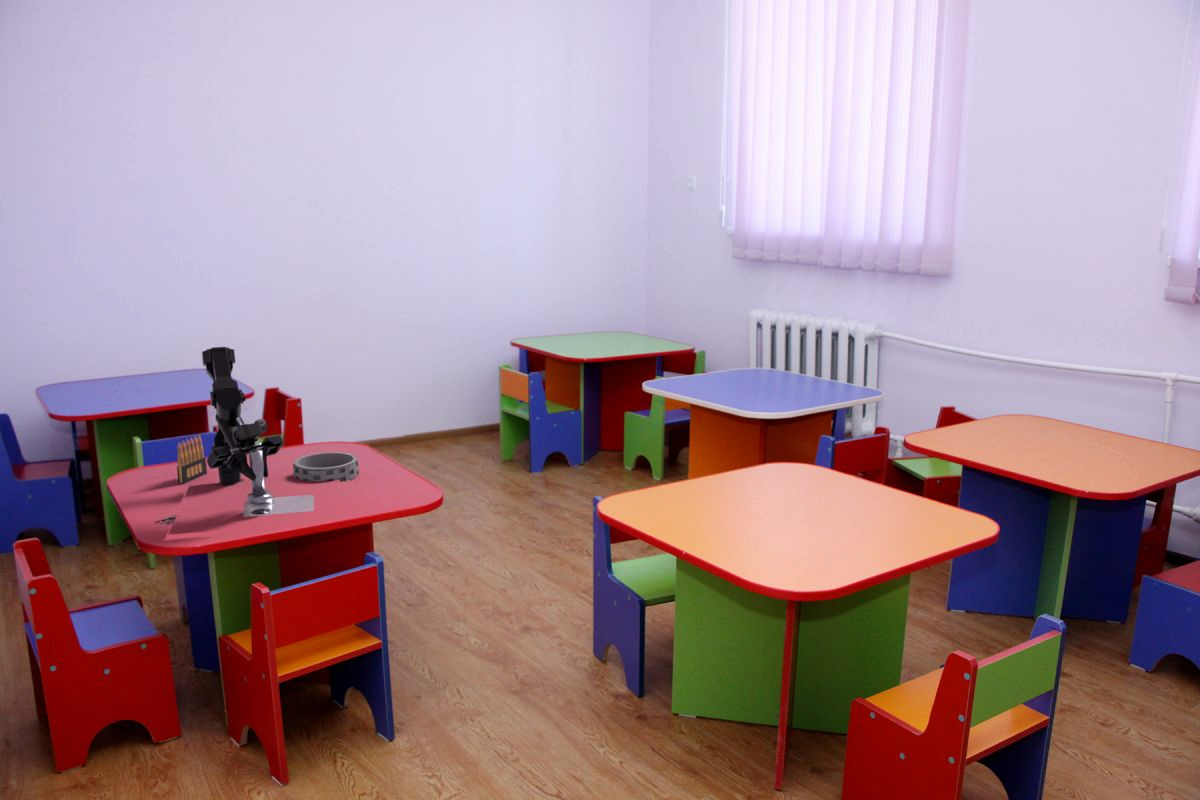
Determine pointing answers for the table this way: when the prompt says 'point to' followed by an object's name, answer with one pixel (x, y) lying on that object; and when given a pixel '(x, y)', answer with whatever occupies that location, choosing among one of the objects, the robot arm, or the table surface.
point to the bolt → (258, 478)
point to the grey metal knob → (271, 498)
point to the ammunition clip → (191, 460)
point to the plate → (281, 506)
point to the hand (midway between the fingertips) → (260, 478)
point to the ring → (326, 466)
